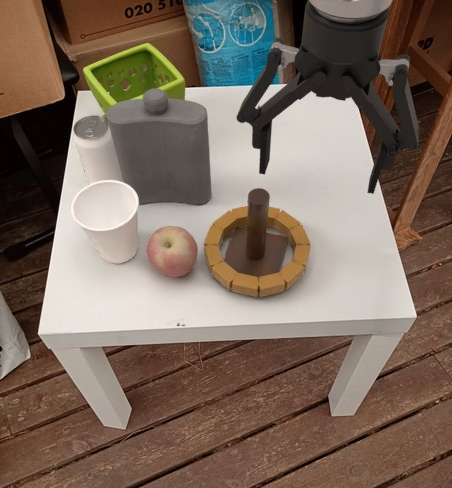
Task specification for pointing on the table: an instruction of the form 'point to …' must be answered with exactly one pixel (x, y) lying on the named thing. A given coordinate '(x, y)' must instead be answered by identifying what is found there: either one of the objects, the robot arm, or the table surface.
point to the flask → (162, 147)
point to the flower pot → (133, 76)
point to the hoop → (252, 283)
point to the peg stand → (256, 241)
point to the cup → (109, 218)
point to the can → (96, 149)
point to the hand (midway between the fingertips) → (317, 176)
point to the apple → (172, 251)
